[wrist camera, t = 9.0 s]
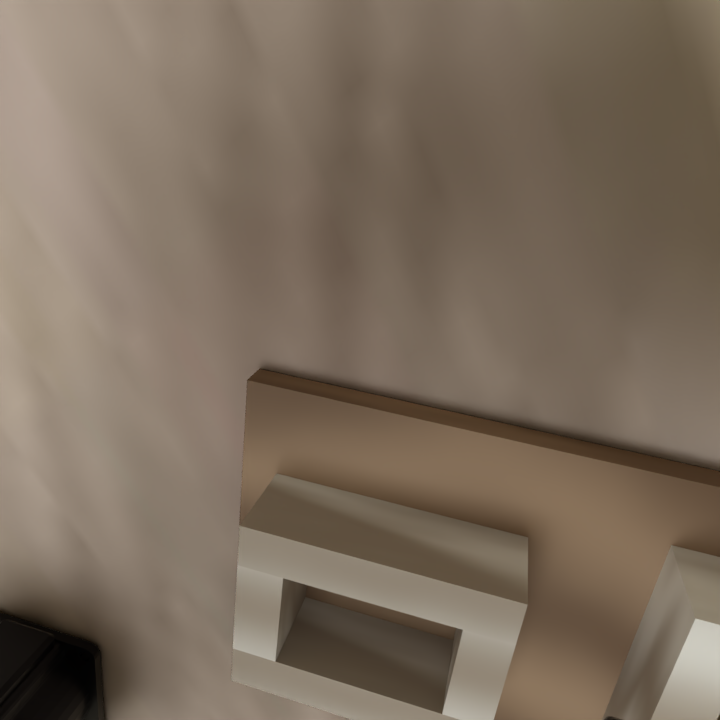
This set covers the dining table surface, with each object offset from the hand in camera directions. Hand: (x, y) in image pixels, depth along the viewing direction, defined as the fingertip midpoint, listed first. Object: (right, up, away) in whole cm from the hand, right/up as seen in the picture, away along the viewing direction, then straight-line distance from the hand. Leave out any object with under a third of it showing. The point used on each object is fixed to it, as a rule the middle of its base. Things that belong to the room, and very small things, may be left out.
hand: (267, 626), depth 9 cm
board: (+8, -5, +13) cm, 16 cm away
